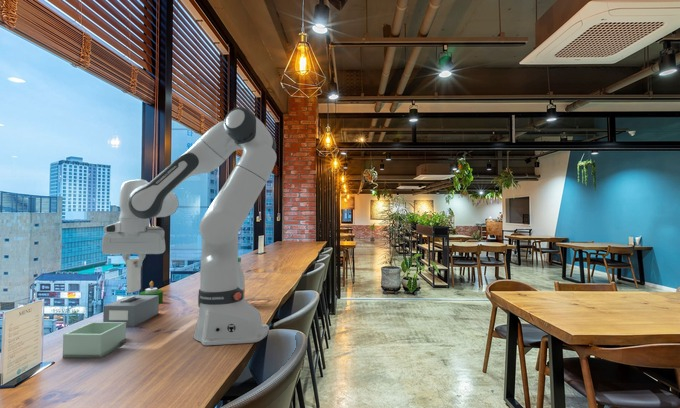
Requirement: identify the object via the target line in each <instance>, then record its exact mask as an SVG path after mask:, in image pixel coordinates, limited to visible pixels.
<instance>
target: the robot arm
mask: <svg viewBox="0 0 680 408" xmlns="http://www.w3.org/2000/svg"><path fill="white" fill-rule="evenodd" d="M276 149H277V143H276V140H275V137H274V136H273V135H272V133H271V132H270V131H269V130H268V129H267V127H266V125H265V124H264V123H263V122H262V120H260V119H259V118H258V117H257V116H255V113H254V112H252V111H251V110H249V109H247V108H245V107H242V106H241V107H235V108H233V109H231V110H230V111H228V112H227V114H226V115H225V117H224V120H221V121H219V122H217V123H216V124H214V125H213V126H211V127H210V128H209V129H208V130H207V131H206V132H205V133H203V135H202V136H200V137H199V138H198V139H197V140H196V141H195V142H194V143H193V144H192V145H191V146H190V147H189V148H188V149H187V150H186V151H185V152H184V153H182V154H181V155H180V156H179V157H177V159H175V160H174V161H173V162H171V163H170V164H169V165H168V166H166V168H165V169H164V170H162V171H161V172H159V174H157V176H155V177H154V178H153V179H152V180H150V182H149V181H148V180H146V179H139V178H138V179H130V180H126V181H124V182H123V183H122V184H121V186H120V189H119V190H120V191H119V202H118V205H119V209H120V214H119V217H118V221H117V222H114V223H112V224H109V225H105V226H104V227H103V232H104V234H103V236H102V240H101V252H102V253H103V254H104V255H122V259H123V261H124V263H125V268H127V260H129V259H131V258H130V257H131V255H137V258H139V260H138V262H135V267H141V268H142V267H143V261H144V259H146V255H161V254H163V253H164V252H165V251H166V240H165V233H166V232H165V230H164V228H163V227H160V226H150V219H152V218H166V217H168V216H172V215H174V214H175V213H176V212H177V210H178V207H179V198H178V197H177V195H176V194H175V193H174V192H173V191H174V190H175V189H176V188H177V187H179V186H180V184H182V183H183V182H184V181H185V180H187V179H188V178H190V177H192V176H196V175H201V174H206V173H211V172H213V171H215V170H216V169H218V167H220V166H221V165H223V163H225V161H226V160H227V159H228V158H229V157H231V155H232V154H233V153H234V152H235V151H238V150H239V151H240V150H241V151H242V153H241V156H240V158H239V159H238V161H237V162H236V165H235V166H234V167H233V169H232V171H231V172H230V174H229V176H228V177H227V179H226V181H225V183H224V184H223V186H222V187H221V188H220V190H219V192H218V193H217V194H216V196H215V198H214V199H213V201H212V202H211V204H210V205H209V207H208V208H207V209H206V212H205V213H204V215H203V216H202V218H201V220H200V221H199V226H198V229H199V234H200V236H201V238H202V245H201V255H200V256H201V257H200V277H199V279H200V281H199V282H200V284H199V289H198V294H197V295H198V296H197V304H198V305H197V306H198V314H197V315H198V316H197V323H196V327H195V330H194V332H193V333H194V334H193V338H194V340H196V341H198V342H200V343H201V344H202V345H203V346H218V345H219V346H220V345H234V344H251V343H258V342H260V341H262V340H263V339H265V338H266V337H267V335H269V332H270V327H269V325H268V324H265V323H263V320H262V315H261V312H260V310H259V309H257V308H256V307H255V306H254V305H252V304H251V303H249V302H248V301H247V300H246V299H243V297H244V291H245V289H246V288H245V289H243V290H241V289H240V288H239V287H238V257H239V232H240V230H241V228H242V226H243V224H244V222H245V221H246V220H247V217H248V216H249V214H250V212H251V210H252V208H253V207H254V205H255V203H256V202H257V200H258V197H259V196H260V194H261V193H262V191H263V189H264V187H265V185H266V184H267V182H268V180H269V179H270V176H271V174H272V173H273V170H274V168H275V165H276V162H277V158H278V157H277V153H276ZM245 292H246V291H245Z"/></svg>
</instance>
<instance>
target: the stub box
mask: <svg viewBox="0 0 680 408" xmlns="http://www.w3.org/2000/svg"><path fill="white" fill-rule="evenodd" d="M126 338H127V326H126V322H103V321H92V322H91V321H90V322H89V323H87V324H84V325H82V326H79V327H77V328H75V329H72V330H71V331H67V332H66V333H64V334H62V358H66V359H67V358H69V359H71V358H72V359H102V358H103V357H105V356H107V355H108V354H110V353H112V352H113V351H115V350H117V349H118V348H120V347H122V346H124V345H126V341H124V340H125V339H126Z"/></svg>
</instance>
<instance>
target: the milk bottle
mask: <svg viewBox="0 0 680 408" xmlns="http://www.w3.org/2000/svg"><path fill="white" fill-rule="evenodd" d="M241 263H242V257H240V256H238V287H239V288H240V289H241V290H243V289H246V288H245V274H244V272H243V270H242V266H241ZM245 293H246V291H244V297H243V299H244V300H246V299H245V297H246V296H245Z"/></svg>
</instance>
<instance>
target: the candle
mask: <svg viewBox="0 0 680 408" xmlns="http://www.w3.org/2000/svg"><path fill="white" fill-rule="evenodd" d="M154 283H155V282H154V281H153V280H151V281H150V282H149V287H148V288H145V289H144V290H143V291H141V292H139V295H159V305H163V303H164V302H163V298H164V297H163V296H164V291H163V290H162V289H158V287H154Z"/></svg>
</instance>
